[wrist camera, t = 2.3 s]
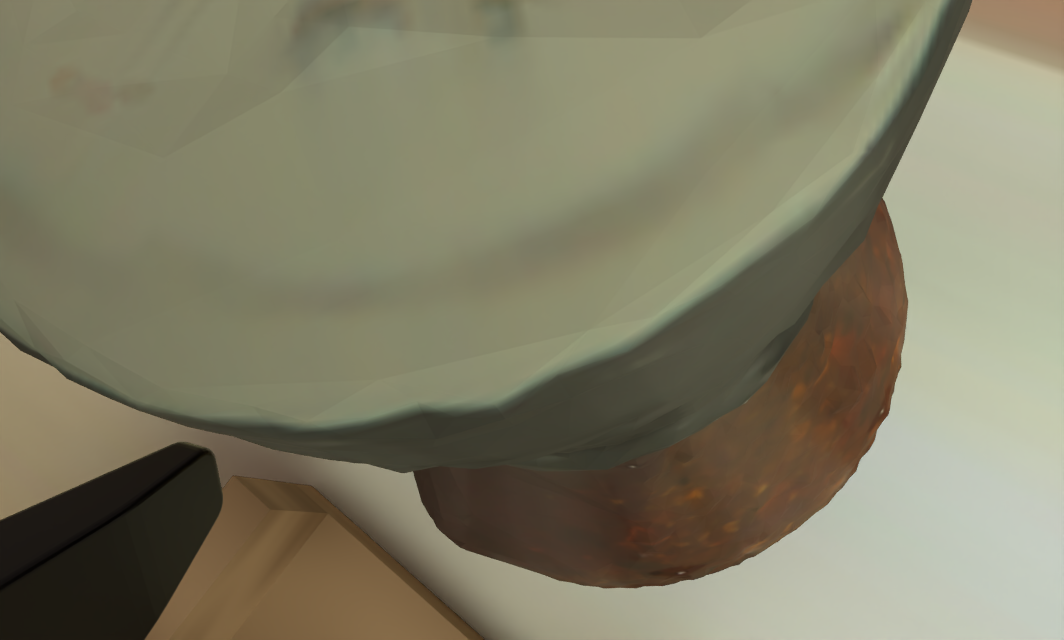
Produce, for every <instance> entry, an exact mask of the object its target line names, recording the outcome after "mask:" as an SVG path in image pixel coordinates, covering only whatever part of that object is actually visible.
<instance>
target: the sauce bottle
mask: <svg viewBox="0 0 1064 640" xmlns="http://www.w3.org/2000/svg"><path fill="white" fill-rule="evenodd" d="M971 3H972V0H0V332H1V333H2V334H3V335H4V336H5V337H6V338H7V339H9V340H10V341H11V342H12V343H13V344H14V345H15V346H16V347H17V348H18V349H19V350H21V351H23V352H25V353H27V354H29V355H31V356H33V357H35V358H37V359H39V360H41V361H43V362H45V363H47V364H49V365H51V366H53V367H55V368H56V369H57V370H58V371H59V372H60V373H61V374H63V375H64V376H65V377H66V378H67V379H69V380H71V381H73V382H75V383H78V384H80V385H82V386H84V387H86V388H88V389H91V390H93V391H95V392H97V393H99V394H101V395H103V396H106V397H108V398H110V399H112V400H115V401H117V402H120V403H122V404H124V405H127V406H129V407H132V408H134V409H136V410H139V411H142V412H145V413H148V414H151V415H154V416H157V417H160V418H163V419H166V420H169V421H172V422H175V423H178V424H181V425H184V426H187V427H191V428H196V429H200V430H205V431H210V432H214V433H219V434H225V435H230V436H234V437H237V438H240V439H243V440H246V441H249V442H252V443H255V444H258V445H261V446H264V447H267V448H271V449H274V450H279V451H284V452H290V453H295V454H301V455H306V456H312V457H317V458H323V459H328V460H336V461H346V462H352V463H366V464H370V465H373V466H377V467H381V468H385V469H389V470H392V471H396V472H400V473H406V472H412V471H413V473H414V476H415V480H416V483H417V487H418V490H419V494H420V497H421V501H422V503H423V505H424V506H425V508H426V510H427V512H428V513H429V515H430V517H431V518H432V519H433V520H434V522H435V524H436V527H437V528H438V529H439V530H440V531H441V532H442V533H443V534H445V535H446V536H447V537H448V538H449V539H450V540H452V541H453V542H454V543H455V544H456V545H458V546H459V547H461V548H463V549H465V550H467V551H471V552H474V553H477V554H480V555H483V556H486V557H490V558H493V559H496V560H499V561H502V562H506V563H509V564H512V565H515V566H518V567H521V568H525V569H528V570H531V571H534V572H537V573H540V574H543V575H545V576H548V577H551V578H554V579H556V580H559V581H565V582H572V583H576V584H580V585H583V586H596V587H601V588H639V587H642V586H665V585H669V584H674V583H677V582H679V581H684V580H695V579H698V578H701V577H704V576H705V575H709V574H713V573H716V572H719V571H721V570H724V569H726V568H728V567H731V566H735V565H739V564H740V563H741V562H743V561H744V560H746V559H748V558H750V557H754V556H756V555H757V554H759V553H761V552H762V551H764V550H765V549H767V548H768V547H770V546H771V545H773V544H774V543H776V542H778V541H779V540H780V539H782V538H783V537H784V536H786V535H788V534H789V533H791V532H793V531H794V530H796V529H797V528H798V527H800V526H801V525H802V524H803V523H804V522H805V521H807V520H808V519H809V518H810V517H811V516H812V515H813V514H815V513H816V512H818V511H819V510H821V509H822V508H823V507H825V506H826V505H827V504H828V503H829V502H830V500H831V499H832V498H833V497H834V495H835V494H836V493H837V492H838V491H839V490H840V489H841V488H843V486H844V485H845V483H846V482H847V481H848V479H849V478H850V477H851V476H852V475H853V474H854V473H855V472H856V470H857V467H858V464H859V461H860V459H861V458H862V457H863V456H864V455H865V454H866V453H867V452H868V450H869V449H870V447H871V446H872V444H873V442H874V440H875V436H876V432H877V429H878V428H879V426H880V425H881V423H882V422H883V421H884V419H885V418H886V417H887V416H888V414H889V410H890V404H891V397H892V394H893V392H894V386H895V382H896V379H897V375H898V372H899V370H900V368H901V352H902V348H903V344H904V337H905V329H906V319H907V308H908V298H907V293H906V288H905V281H904V271H903V263H902V258H901V254H900V252H899V248H898V244H897V240H896V236H895V232H894V229H893V225H892V221H891V219H890V216H889V213H888V210H887V207H886V204H885V202H884V200H883V198H882V197H883V195H884V193H885V191H886V189H887V187H888V184H889V182H890V180H891V178H892V176H893V174H894V172H895V170H896V168H897V166H898V164H899V162H900V160H901V157H902V155H903V153H904V151H905V149H906V147H907V145H908V143H909V141H910V139H911V137H912V135H913V132H914V130H915V128H916V126H917V124H918V122H919V120H920V118H921V116H922V113H923V111H924V109H925V107H926V105H927V102H928V100H929V98H930V96H931V94H932V91H933V89H934V87H935V85H936V83H937V80H938V78H939V76H940V74H941V72H942V69H943V67H944V65H945V63H946V61H947V58H948V56H949V54H950V52H951V50H952V47H953V45H954V43H955V41H956V39H957V36H958V34H959V32H960V30H961V28H962V25H963V23H964V21H965V19H966V17H967V14H968V12H969V9H970V6H971Z"/></svg>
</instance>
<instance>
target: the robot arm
mask: <svg viewBox="0 0 1064 640" xmlns="http://www.w3.org/2000/svg"><path fill="white" fill-rule="evenodd" d="M222 504H223V492H222V487H221V483H220V478H219V473H218V468H217V464H216V459H215V456H214V454H213V452H212V451H211V450H210V449H208V448H205V447H202V446H198V445H195V444H191V443H188V442H178V443H175V444H172V445H170V446H167V447H165V448H163V449H161V450H158V451H156V452H154V453H151V454H149V455H147V456H145V457H142V458H140V459H138V460H136V461H133V462H131V463H129V464H127V465H124V466H122V467H120V468H118V469H115V470H113V471H111V472H108V473H106V474H104V475H102V476H99V477H97V478H95V479H93V480H90V481H88V482H86V483H84V484H81V485H79V486H77V487H74V488H72V489H70V490H68V491H65V492H63V493H61V494H59V495H56V496H54V497H52V498H50V499H47V500H45V501H43V502H40V503H38V504H36V505H34V506H31V507H29V508H27V509H25V510H22V511H20V512H18V513H16V514H13V515H11V516H9V517H7V518H4V519H2V520H0V640H145V638H146V637H147V635H148V634H149V632H150V631H151V630H152V628H153V627H154V625H155V624H156V622H157V621H158V619H159V618H160V616H161V614H162V613H163V611H164V609H165V608H166V606H167V605H168V603H169V601H170V599H171V598H172V596H173V594H174V593H175V591H176V589H177V587H178V586H179V584H180V582H181V580H182V579H183V577H184V575H185V574H186V572H187V570H188V568H189V567H190V565H191V563H192V561H193V560H194V558H195V556H196V555H197V553H198V551H199V549H200V548H201V546H202V544H203V542H204V541H205V539H206V537H207V535H208V534H209V532H210V530H211V529H212V527H213V525H214V523H215V522H216V520H217V518H218V516H219V514H220V511H221V509H222Z"/></svg>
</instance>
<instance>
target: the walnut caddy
mask: <svg viewBox="0 0 1064 640" xmlns="http://www.w3.org/2000/svg"><path fill="white" fill-rule="evenodd" d="M222 492H223V504H222V509H221V511H220V514H219V516H218V518H217V520H216V522H215V523H214V525H213V527H212V529H211V530H210V532H209V534H208V535H207V537H206V539H205V541H204V542H203V544H202V546H201V548H200V549H199V551H198V553H197V555H196V556H195V558H194V560H193V561H192V563H191V565H190V567H189V568H188V570H187V572H186V574H185V575H184V577H183V579H182V580H181V582H180V584H179V586H178V587H177V589H176V591H175V593H174V594H173V596H172V598H171V599H170V601H169V603H168V605H167V606H166V608H165V609H164V611H163V613H162V614H161V616H160V618H159V619H158V621H157V622H156V624H155V625H154V627H153V628H152V630H151V631H150V632H149V634H148V635H147V637H146V638H145V640H485V639H484V638H482V637H481V636H480V635H479V634H478V633H477V632H476V631H475V630H473V629H472V628H471V627H470V626H469V625H468V624H467V623H465V622H464V621H463V620H462V619H461V618H460V617H459V616H458V615H456V614H455V613H454V612H453V611H452V610H451V609H450V608H449V607H447V606H446V605H445V604H444V603H443V602H442V601H441V600H440V599H438V598H437V597H436V596H435V595H434V594H433V593H432V592H431V591H429V590H428V589H427V588H426V587H425V586H424V585H423V584H422V583H420V582H419V581H418V580H417V579H416V578H415V577H414V576H413V575H411V574H410V573H409V572H408V571H407V570H406V569H405V568H404V567H402V566H401V565H400V564H399V563H398V562H397V561H396V560H395V559H393V558H392V557H391V556H390V555H389V554H388V553H387V552H386V551H384V550H383V549H382V548H381V547H380V546H379V545H378V544H377V543H375V542H374V541H373V540H372V539H371V538H370V537H369V536H368V535H366V534H365V533H364V532H363V531H362V530H361V529H360V528H359V527H357V526H356V525H355V524H354V523H353V522H352V521H351V520H350V519H348V518H347V517H346V516H345V515H344V514H343V513H342V512H341V511H339V510H338V509H337V508H336V507H335V506H334V505H333V504H332V503H330V502H329V501H328V500H327V499H326V498H325V497H324V496H323V495H321V494H320V493H319V492H318V491H317V490H316V489H315V488H313V487H312V486H308V485H301V484H293V483H286V482H278V481H271V480H263V479H256V478H248V477H241V476H232V477H231V479H230V480H229V481H228V482H227V484H226V485H225V486H224V488H223V489H222Z"/></svg>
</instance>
